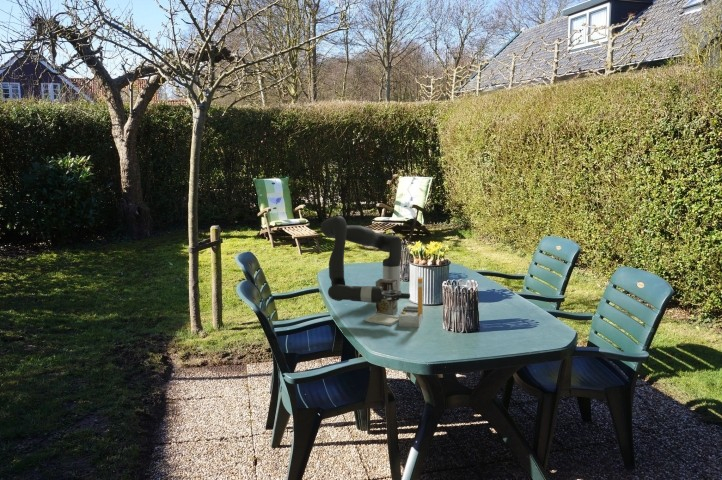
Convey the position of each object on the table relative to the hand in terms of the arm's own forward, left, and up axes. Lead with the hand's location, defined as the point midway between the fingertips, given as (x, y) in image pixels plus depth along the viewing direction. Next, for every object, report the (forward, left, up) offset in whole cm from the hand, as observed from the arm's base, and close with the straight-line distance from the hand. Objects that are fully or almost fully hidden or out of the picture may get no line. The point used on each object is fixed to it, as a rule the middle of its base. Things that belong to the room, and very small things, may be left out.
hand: (409, 296), depth 253 cm
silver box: (-3, -1, -13) cm, 13 cm away
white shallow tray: (+1, -13, -13) cm, 18 cm away
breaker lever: (-2, +4, -8) cm, 9 cm away
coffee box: (-10, -18, -13) cm, 24 cm away
